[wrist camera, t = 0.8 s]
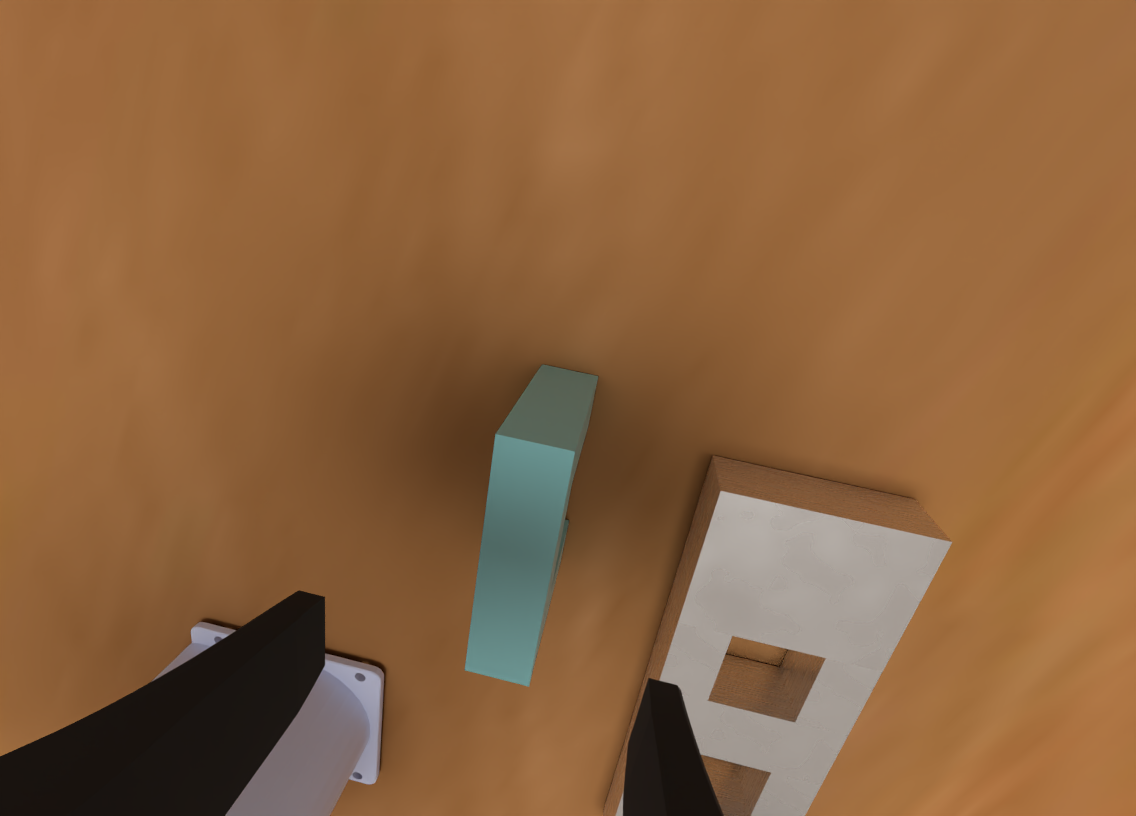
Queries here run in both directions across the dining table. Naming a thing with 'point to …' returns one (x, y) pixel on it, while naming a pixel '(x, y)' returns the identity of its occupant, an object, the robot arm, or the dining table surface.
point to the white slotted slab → (785, 625)
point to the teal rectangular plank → (527, 521)
